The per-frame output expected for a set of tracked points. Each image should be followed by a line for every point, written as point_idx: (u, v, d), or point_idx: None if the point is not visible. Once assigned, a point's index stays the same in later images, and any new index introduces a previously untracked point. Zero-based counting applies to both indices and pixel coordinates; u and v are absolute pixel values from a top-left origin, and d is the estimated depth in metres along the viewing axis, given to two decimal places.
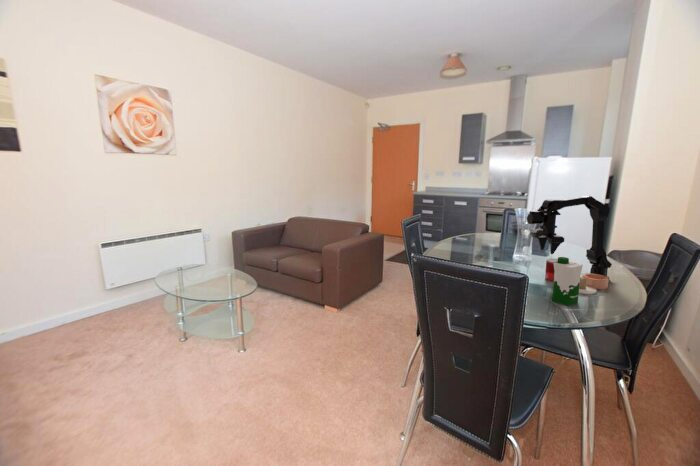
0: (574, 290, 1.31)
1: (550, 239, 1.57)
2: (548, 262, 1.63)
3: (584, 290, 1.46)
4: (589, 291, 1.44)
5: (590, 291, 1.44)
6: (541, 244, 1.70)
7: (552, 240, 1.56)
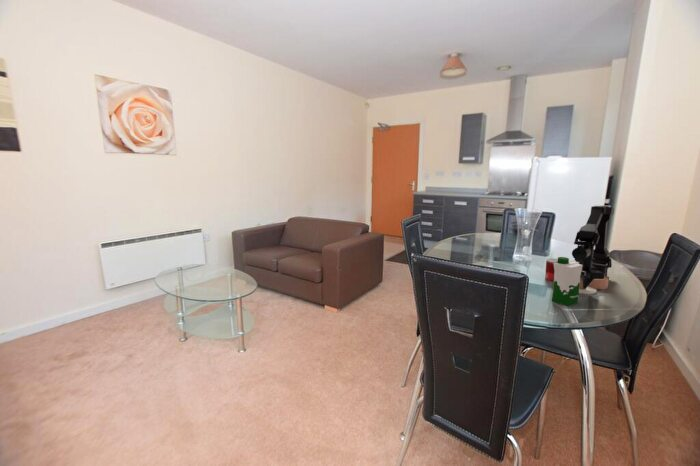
0: (574, 290, 1.31)
1: (588, 275, 1.40)
2: (548, 262, 1.63)
3: (584, 290, 1.46)
4: (589, 291, 1.44)
5: (590, 291, 1.44)
6: None
7: (591, 276, 1.38)
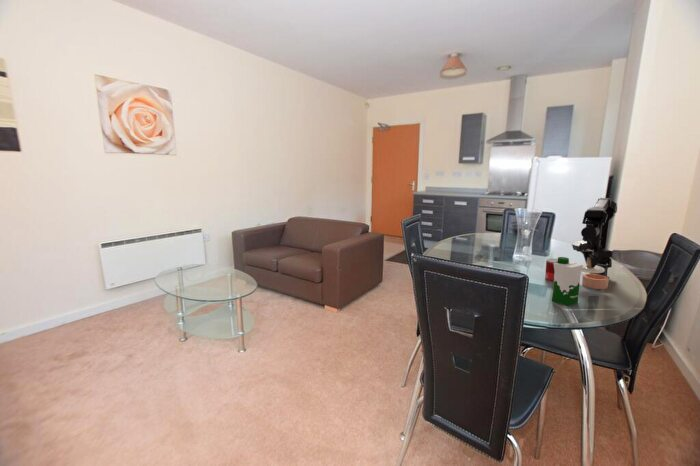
0: (574, 290, 1.31)
1: (596, 253, 1.40)
2: (548, 262, 1.63)
3: (592, 269, 1.47)
4: (597, 270, 1.45)
5: (598, 270, 1.45)
6: None
7: (599, 255, 1.39)
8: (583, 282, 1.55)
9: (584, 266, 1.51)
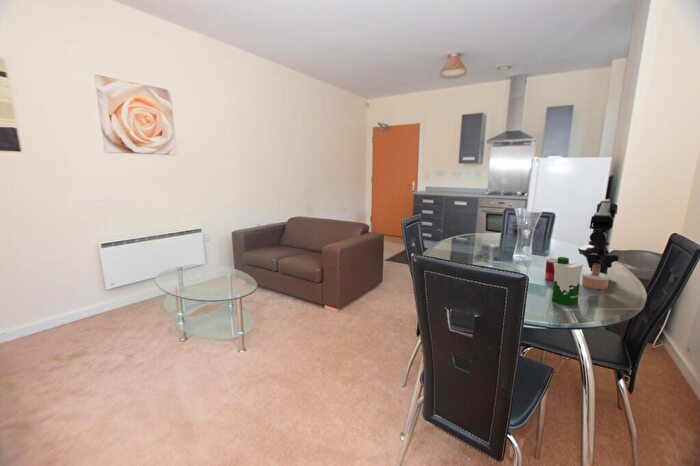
0: (574, 290, 1.31)
1: (603, 258, 1.44)
2: (548, 262, 1.63)
3: (598, 276, 1.50)
4: (603, 277, 1.49)
5: (603, 277, 1.48)
6: (590, 262, 1.56)
7: (605, 259, 1.42)
8: (583, 282, 1.55)
9: (590, 273, 1.55)
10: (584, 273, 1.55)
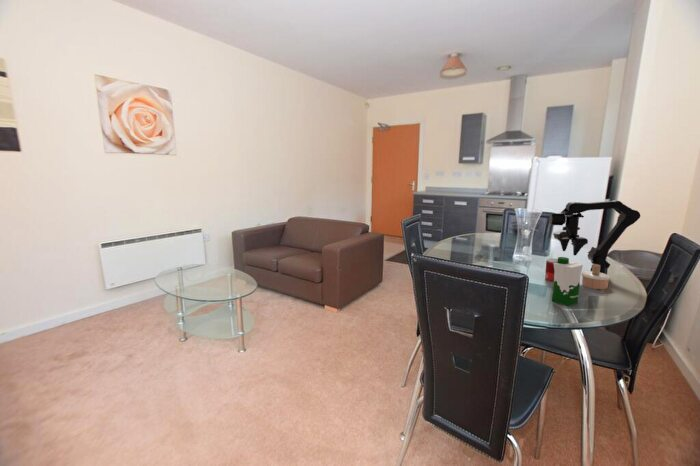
0: (574, 290, 1.31)
1: (574, 241, 1.61)
2: (548, 262, 1.63)
3: (598, 276, 1.50)
4: (603, 277, 1.49)
5: (603, 277, 1.48)
6: (563, 245, 1.74)
7: (576, 242, 1.59)
8: (583, 282, 1.55)
9: (590, 273, 1.55)
10: (584, 273, 1.55)
